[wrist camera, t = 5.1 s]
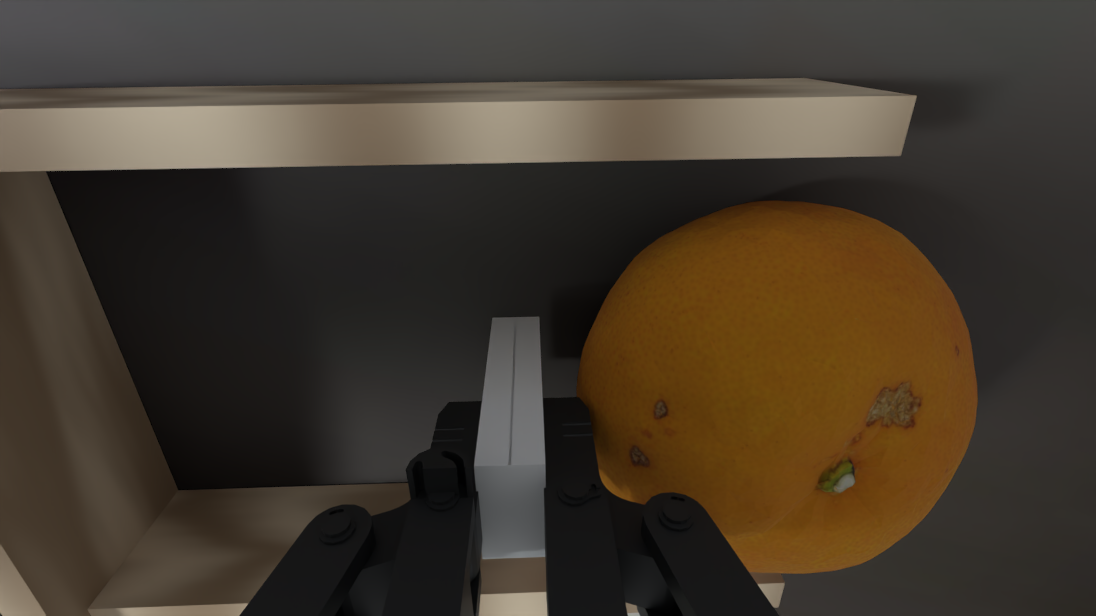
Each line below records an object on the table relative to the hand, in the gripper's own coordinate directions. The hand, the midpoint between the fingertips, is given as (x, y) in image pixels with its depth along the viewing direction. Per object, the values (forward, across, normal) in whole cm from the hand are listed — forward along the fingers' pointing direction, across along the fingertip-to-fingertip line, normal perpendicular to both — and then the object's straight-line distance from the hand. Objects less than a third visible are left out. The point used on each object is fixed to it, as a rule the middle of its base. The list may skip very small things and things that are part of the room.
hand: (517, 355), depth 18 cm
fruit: (+2, +7, 0) cm, 7 cm away
